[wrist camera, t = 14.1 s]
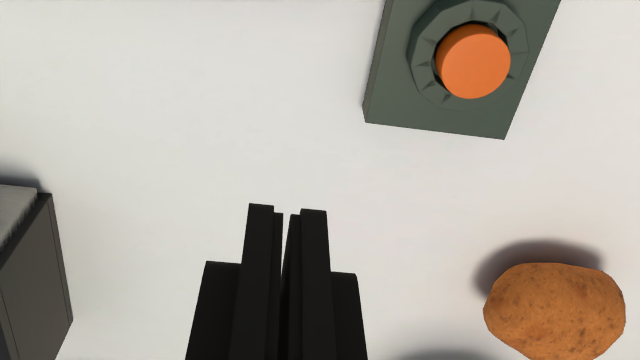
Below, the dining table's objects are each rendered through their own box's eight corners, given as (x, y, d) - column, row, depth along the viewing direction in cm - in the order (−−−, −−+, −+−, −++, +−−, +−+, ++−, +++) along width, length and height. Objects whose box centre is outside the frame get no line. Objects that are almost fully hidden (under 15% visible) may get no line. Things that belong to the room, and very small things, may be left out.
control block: (402, -75, 30) (414, -63, 27) (561, -48, 32) (592, -33, 28) (362, 108, 37) (367, 136, 34) (494, 125, 38) (513, 153, 35)
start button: (445, 18, 30) (453, 28, 29) (511, 28, 30) (521, 38, 29) (427, 82, 32) (433, 94, 31) (488, 90, 33) (497, 103, 31)
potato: (555, 324, 51) (590, 393, 45) (454, 300, 49) (476, 369, 43) (615, 259, 46) (663, 326, 40) (506, 228, 44) (540, 295, 38)
